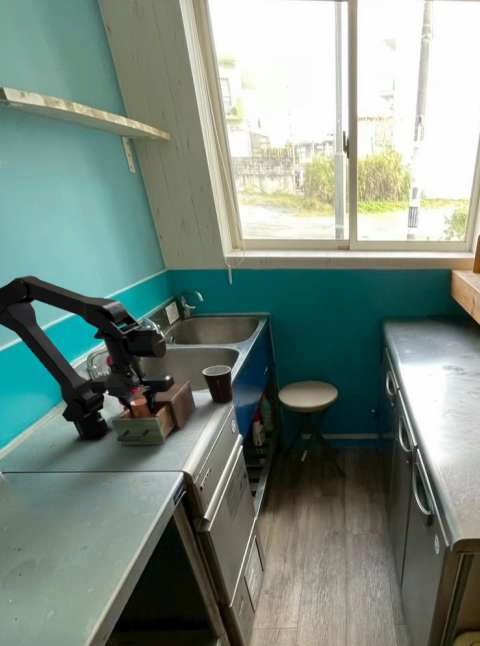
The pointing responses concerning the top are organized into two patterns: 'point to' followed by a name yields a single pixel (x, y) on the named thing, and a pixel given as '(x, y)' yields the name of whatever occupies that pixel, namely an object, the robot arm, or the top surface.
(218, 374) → the dark brown cup
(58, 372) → the robot arm
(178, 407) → the cabinet
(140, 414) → the orange cylinder
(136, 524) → the top surface
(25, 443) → the top surface
